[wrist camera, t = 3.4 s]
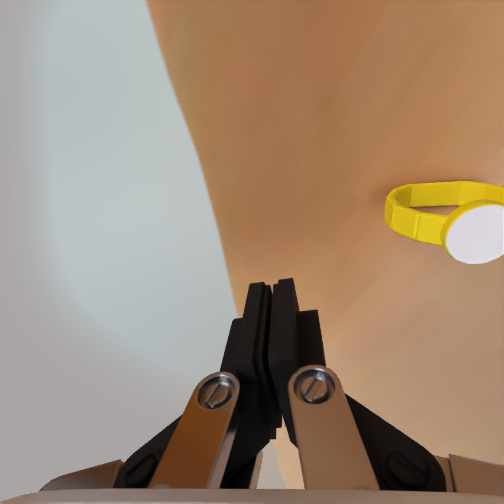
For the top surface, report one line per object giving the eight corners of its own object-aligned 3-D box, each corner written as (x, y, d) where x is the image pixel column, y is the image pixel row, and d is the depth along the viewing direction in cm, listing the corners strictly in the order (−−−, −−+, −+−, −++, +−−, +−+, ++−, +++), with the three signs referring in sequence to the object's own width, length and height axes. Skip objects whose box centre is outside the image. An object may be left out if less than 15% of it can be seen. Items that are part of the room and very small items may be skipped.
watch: (491, 164, 16) (584, 198, 11) (479, 211, 18) (558, 261, 12) (377, 174, 17) (414, 209, 12) (373, 218, 19) (406, 267, 13)
